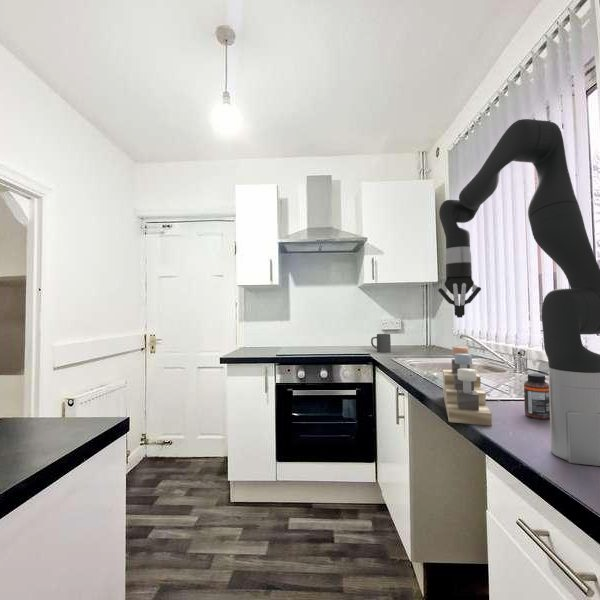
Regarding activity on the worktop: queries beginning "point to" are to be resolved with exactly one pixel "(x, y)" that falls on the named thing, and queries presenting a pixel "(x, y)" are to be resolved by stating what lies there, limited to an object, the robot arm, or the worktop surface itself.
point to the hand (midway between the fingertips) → (459, 317)
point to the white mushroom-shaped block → (467, 378)
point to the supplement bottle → (536, 397)
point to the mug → (382, 343)
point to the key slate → (463, 360)
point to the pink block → (459, 350)
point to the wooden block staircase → (464, 399)
